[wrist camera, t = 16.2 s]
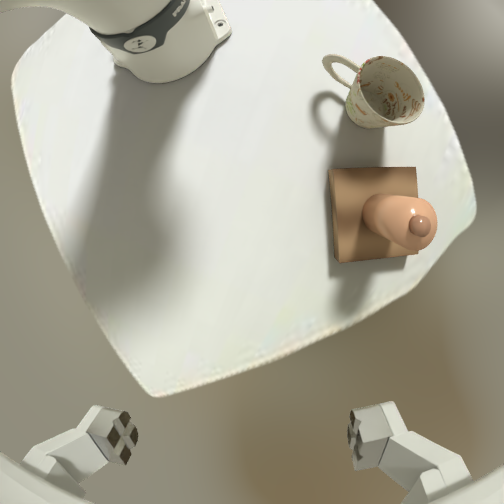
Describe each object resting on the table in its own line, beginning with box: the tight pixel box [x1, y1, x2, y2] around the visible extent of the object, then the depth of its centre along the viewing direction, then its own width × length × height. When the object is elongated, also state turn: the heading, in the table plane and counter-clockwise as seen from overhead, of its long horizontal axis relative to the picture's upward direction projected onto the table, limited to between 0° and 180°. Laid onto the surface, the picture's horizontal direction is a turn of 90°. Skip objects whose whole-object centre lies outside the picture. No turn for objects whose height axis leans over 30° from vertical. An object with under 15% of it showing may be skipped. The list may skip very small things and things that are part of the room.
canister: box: [362, 193, 437, 251], centre depth 28 cm, size 5×5×11 cm
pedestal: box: [328, 167, 418, 263], centre depth 35 cm, size 12×12×3 cm
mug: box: [322, 54, 424, 129], centre depth 28 cm, size 8×13×10 cm, turn 56°
